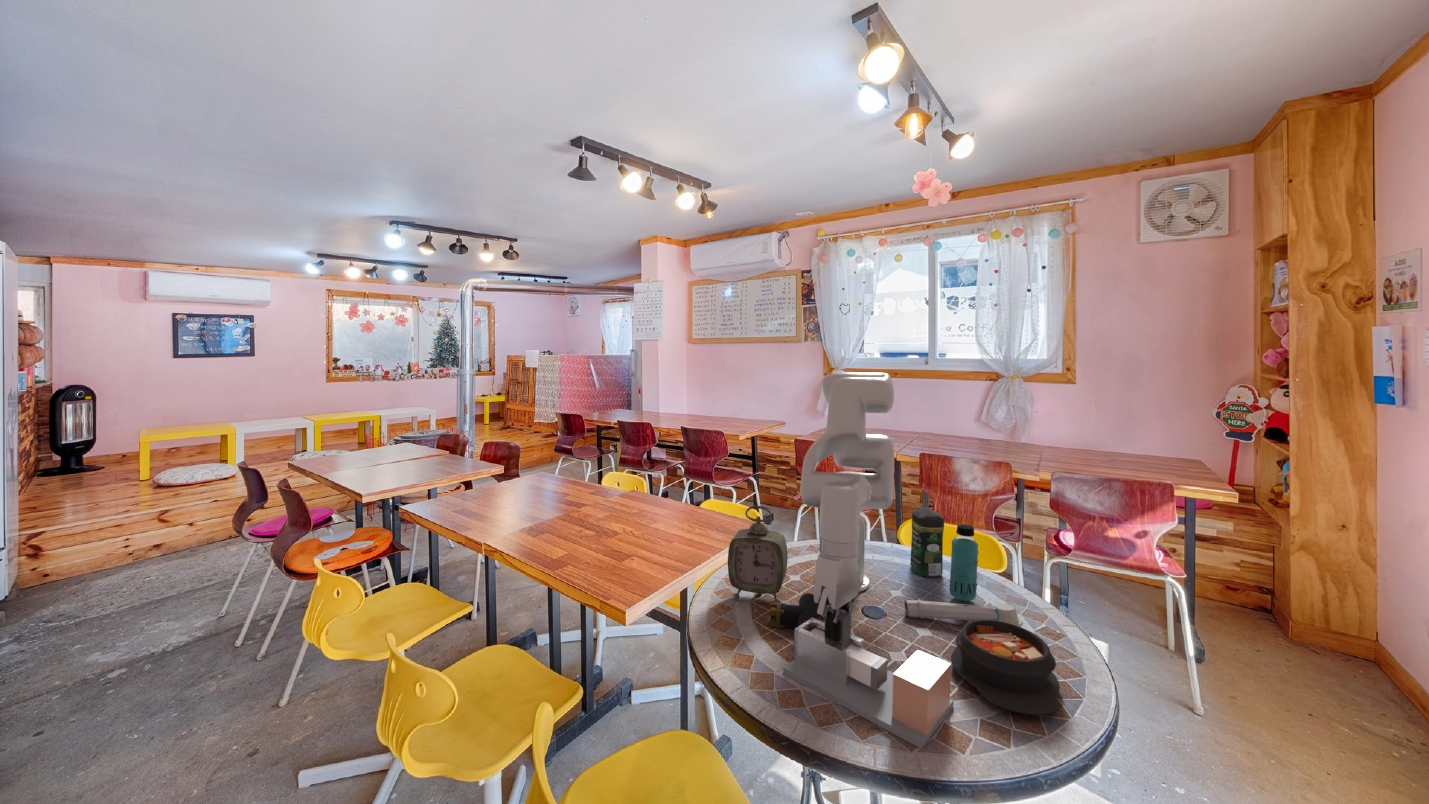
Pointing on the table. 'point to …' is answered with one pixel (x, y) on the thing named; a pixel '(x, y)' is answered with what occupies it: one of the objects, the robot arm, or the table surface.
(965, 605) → the electric cleaning brush
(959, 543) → the beverage bottle
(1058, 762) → the table surface
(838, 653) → the outer sleeve
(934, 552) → the coffee jar
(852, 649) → the sliding latch bolt
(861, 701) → the base board
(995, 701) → the casserole
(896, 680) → the socket block
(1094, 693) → the table surface
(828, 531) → the robot arm
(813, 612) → the pipe connector
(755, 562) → the tabletop clock
